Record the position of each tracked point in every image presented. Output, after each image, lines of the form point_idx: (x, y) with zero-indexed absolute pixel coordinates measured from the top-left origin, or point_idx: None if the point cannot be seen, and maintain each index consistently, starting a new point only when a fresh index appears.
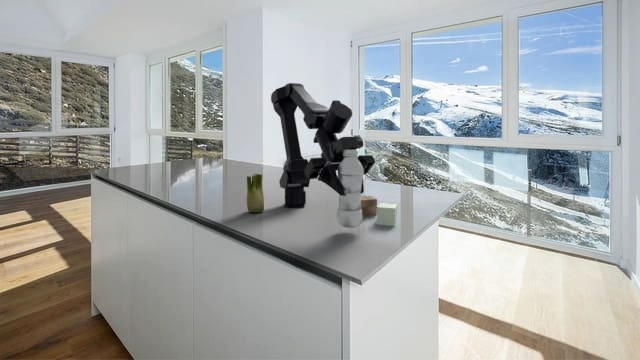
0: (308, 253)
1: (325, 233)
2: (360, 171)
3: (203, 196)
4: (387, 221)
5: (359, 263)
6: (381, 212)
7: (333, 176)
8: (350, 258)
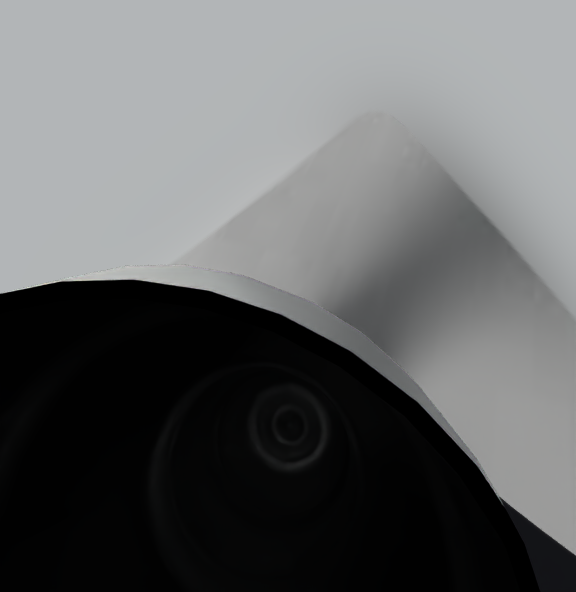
0: (491, 251)
1: None
2: (83, 300)
3: None
4: None
5: (357, 161)
6: None
7: (555, 557)
8: (370, 193)
